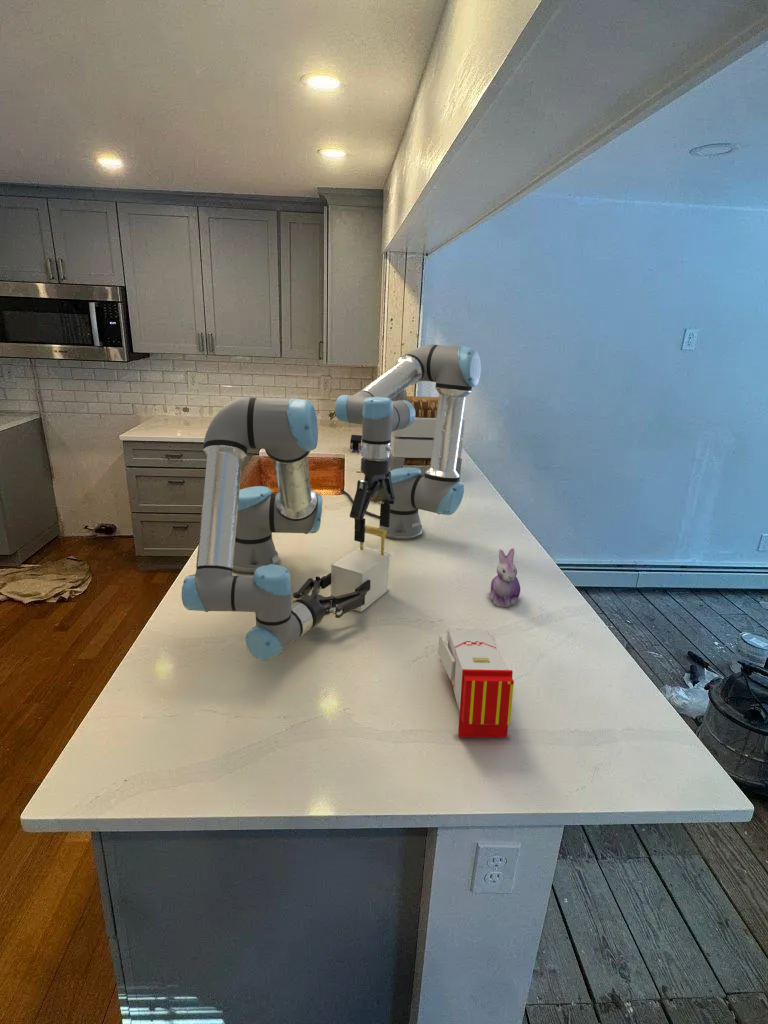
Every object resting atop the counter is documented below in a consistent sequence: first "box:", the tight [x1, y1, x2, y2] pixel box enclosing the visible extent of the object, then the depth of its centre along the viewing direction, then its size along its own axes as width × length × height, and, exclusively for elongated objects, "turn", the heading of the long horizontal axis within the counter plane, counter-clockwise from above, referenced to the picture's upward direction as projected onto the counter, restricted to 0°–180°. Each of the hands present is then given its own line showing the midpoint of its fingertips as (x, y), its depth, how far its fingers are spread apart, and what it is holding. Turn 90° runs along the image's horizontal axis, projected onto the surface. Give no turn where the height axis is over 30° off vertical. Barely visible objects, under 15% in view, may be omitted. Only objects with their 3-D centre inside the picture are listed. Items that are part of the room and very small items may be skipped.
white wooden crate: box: [388, 389, 465, 482], centre depth 268 cm, size 34×33×41 cm
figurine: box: [489, 547, 521, 608], centre depth 154 cm, size 9×10×15 cm
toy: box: [437, 628, 515, 738], centre depth 117 cm, size 12×13×30 cm
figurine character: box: [349, 434, 362, 453], centre depth 311 cm, size 7×8×15 cm
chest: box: [330, 557, 390, 613], centre depth 154 cm, size 14×10×10 cm, turn 151°
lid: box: [330, 524, 392, 576], centre depth 151 cm, size 15×10×8 cm, turn 151°
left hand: (352, 579), depth 150 cm, fingers closed on chest, 10 cm apart
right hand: (372, 533), depth 155 cm, fingers open, 13 cm apart
